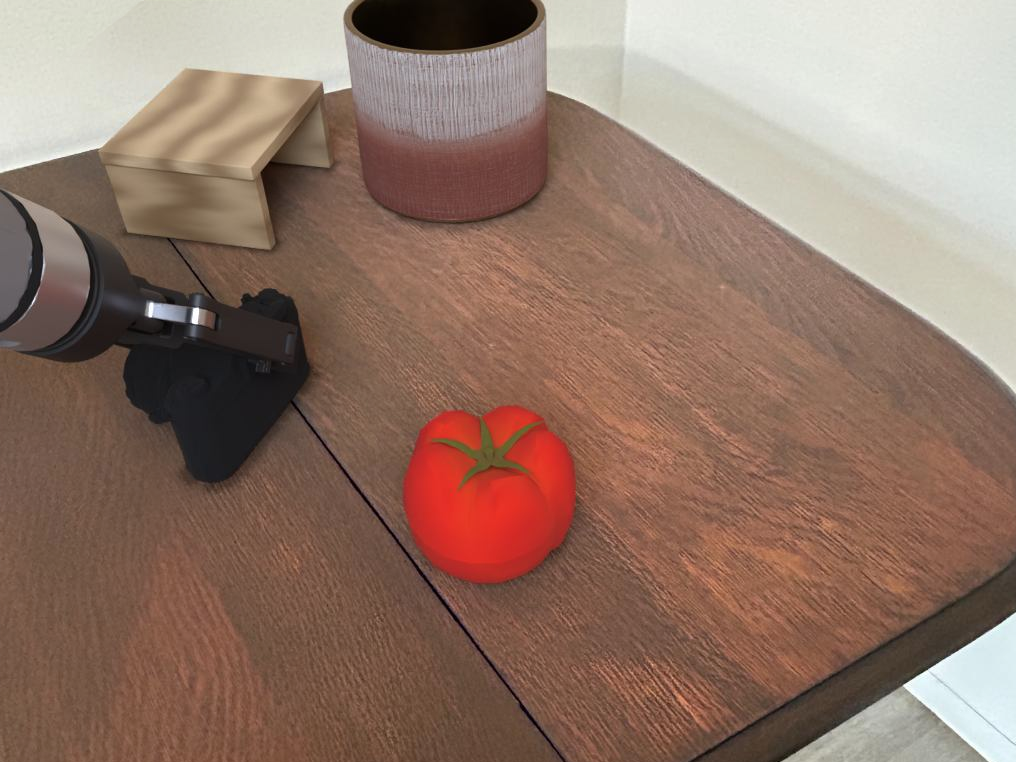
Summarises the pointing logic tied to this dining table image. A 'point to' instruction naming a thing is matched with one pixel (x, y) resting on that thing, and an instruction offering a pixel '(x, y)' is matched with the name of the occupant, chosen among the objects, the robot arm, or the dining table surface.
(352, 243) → the dining table surface
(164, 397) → the film camera
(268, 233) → the shelf
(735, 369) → the dining table surface
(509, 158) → the planter
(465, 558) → the tomato
